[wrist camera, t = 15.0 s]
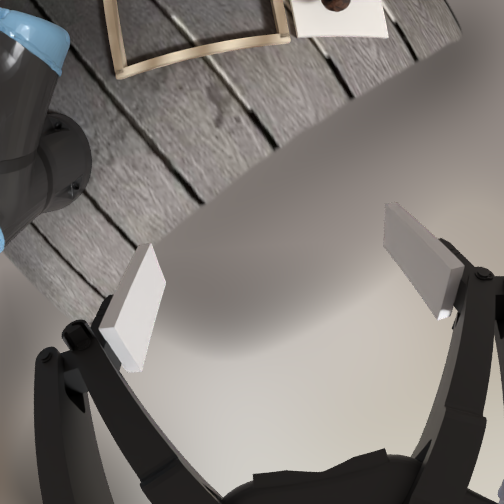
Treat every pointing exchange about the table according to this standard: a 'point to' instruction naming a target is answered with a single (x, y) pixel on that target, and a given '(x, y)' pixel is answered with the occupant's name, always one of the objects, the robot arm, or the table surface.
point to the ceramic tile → (339, 19)
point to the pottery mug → (336, 4)
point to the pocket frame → (126, 71)
